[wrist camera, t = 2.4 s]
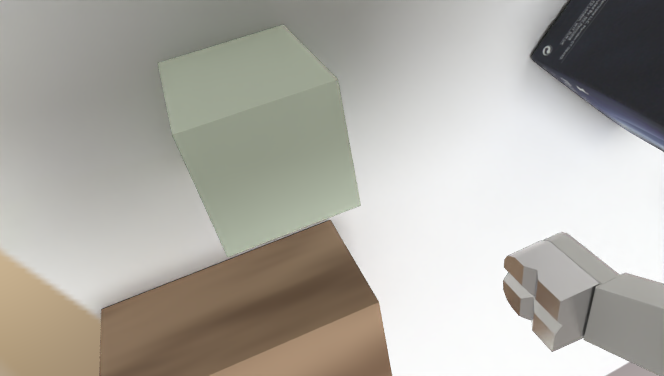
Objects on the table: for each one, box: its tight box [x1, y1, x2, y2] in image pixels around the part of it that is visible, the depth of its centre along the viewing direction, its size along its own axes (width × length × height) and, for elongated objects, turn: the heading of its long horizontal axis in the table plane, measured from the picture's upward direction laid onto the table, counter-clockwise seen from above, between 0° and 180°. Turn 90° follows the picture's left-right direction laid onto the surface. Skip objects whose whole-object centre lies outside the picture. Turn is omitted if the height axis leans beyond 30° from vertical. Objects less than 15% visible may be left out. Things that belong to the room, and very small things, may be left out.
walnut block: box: [99, 220, 392, 376], centre depth 25 cm, size 10×12×6 cm
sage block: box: [158, 25, 361, 257], centre depth 17 cm, size 5×5×6 cm
